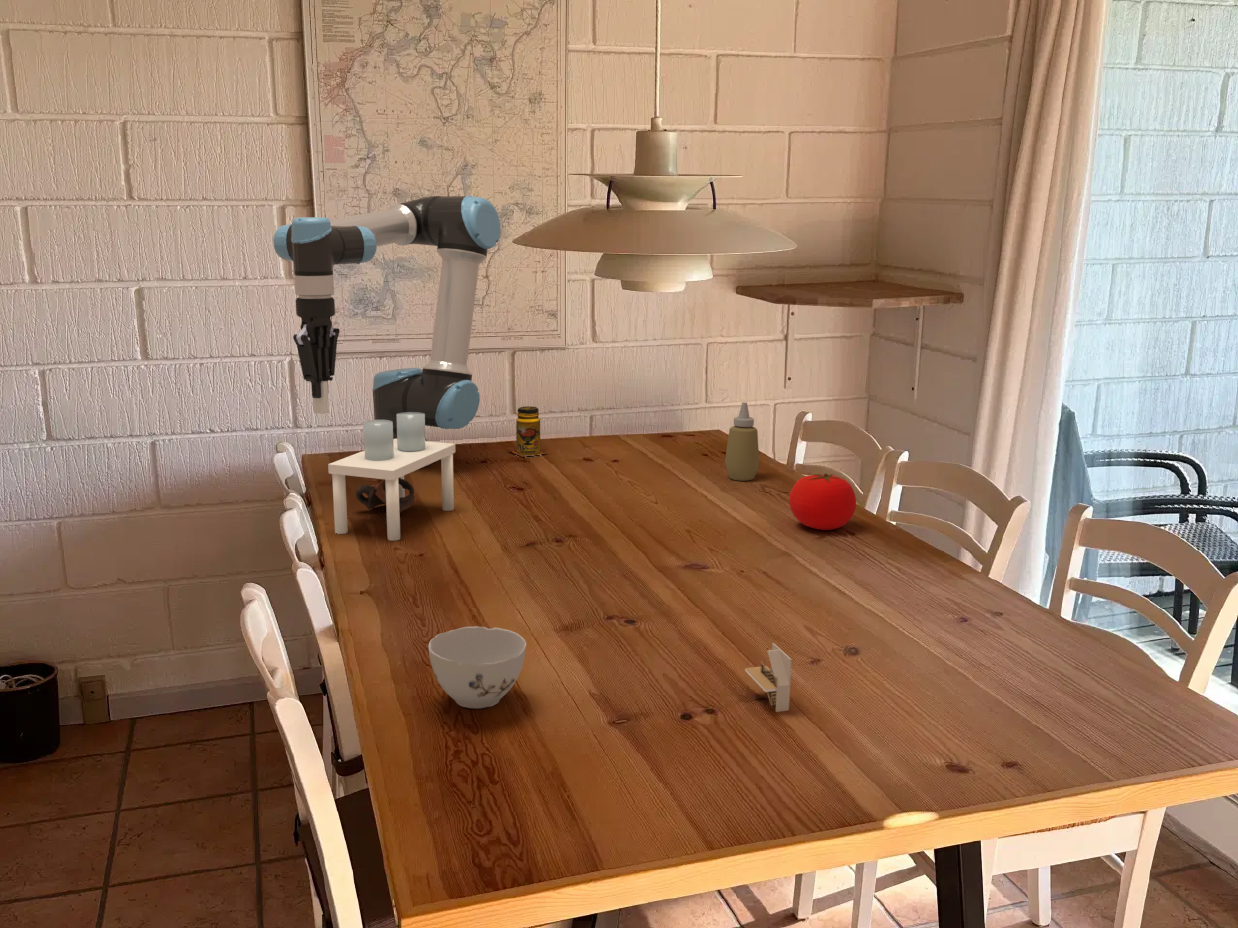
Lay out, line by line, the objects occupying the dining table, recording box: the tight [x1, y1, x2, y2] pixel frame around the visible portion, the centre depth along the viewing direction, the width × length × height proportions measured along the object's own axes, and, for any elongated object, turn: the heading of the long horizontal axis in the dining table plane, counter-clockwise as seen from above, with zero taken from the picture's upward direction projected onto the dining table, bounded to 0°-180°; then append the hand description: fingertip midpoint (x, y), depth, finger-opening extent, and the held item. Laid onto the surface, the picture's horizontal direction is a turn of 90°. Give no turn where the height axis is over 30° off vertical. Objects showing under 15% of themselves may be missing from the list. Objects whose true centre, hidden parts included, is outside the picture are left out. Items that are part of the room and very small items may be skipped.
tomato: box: [788, 473, 857, 531], centre depth 222 cm, size 12×13×11 cm
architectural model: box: [744, 642, 792, 713], centre depth 145 cm, size 3×7×7 cm, turn 16°
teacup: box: [428, 626, 527, 710], centre depth 145 cm, size 15×12×8 cm
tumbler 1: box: [362, 419, 394, 461], centre depth 216 cm, size 6×6×7 cm
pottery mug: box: [354, 478, 416, 517], centre depth 229 cm, size 12×10×8 cm
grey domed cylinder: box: [397, 412, 426, 451], centre depth 224 cm, size 6×6×7 cm
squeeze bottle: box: [724, 401, 760, 482], centre depth 259 cm, size 8×8×18 cm
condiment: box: [515, 405, 542, 456], centre depth 282 cm, size 7×8×12 cm
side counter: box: [327, 439, 456, 542], centre depth 222 cm, size 25×14×14 cm, turn 161°
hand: (321, 412), depth 227 cm, fingers closed
